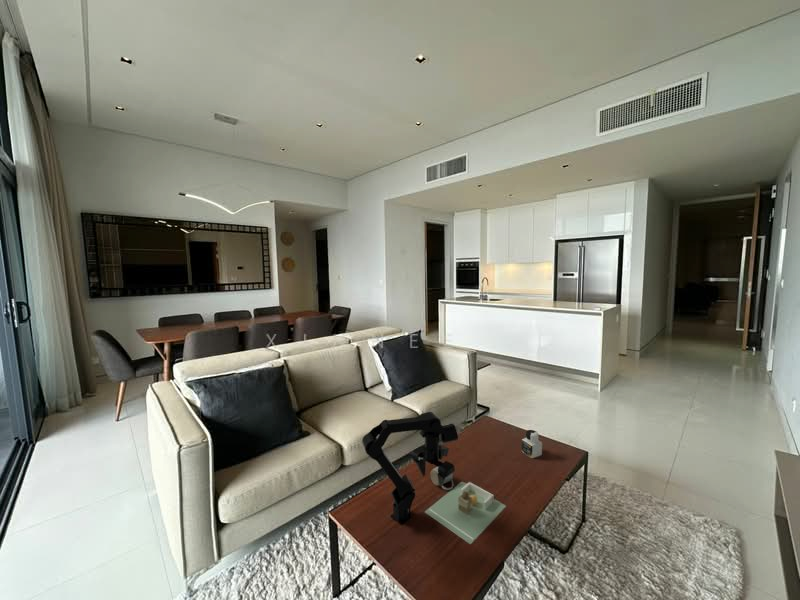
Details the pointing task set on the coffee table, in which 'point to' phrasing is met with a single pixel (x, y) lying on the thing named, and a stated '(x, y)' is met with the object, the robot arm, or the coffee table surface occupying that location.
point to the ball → (474, 499)
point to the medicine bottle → (531, 444)
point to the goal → (480, 492)
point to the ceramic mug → (436, 481)
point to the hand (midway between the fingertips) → (432, 480)
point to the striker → (465, 503)
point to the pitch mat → (459, 521)
